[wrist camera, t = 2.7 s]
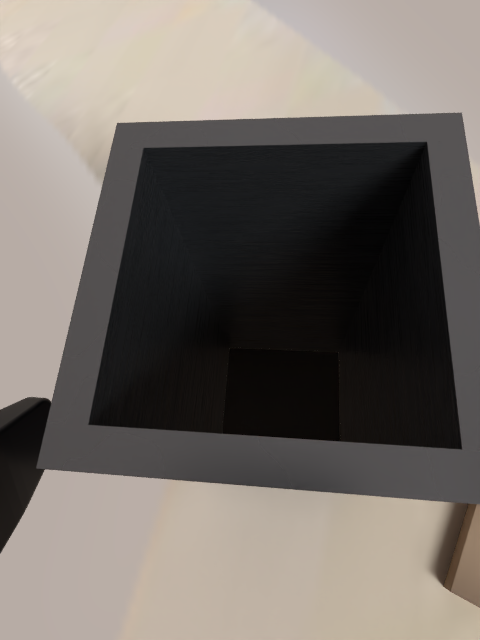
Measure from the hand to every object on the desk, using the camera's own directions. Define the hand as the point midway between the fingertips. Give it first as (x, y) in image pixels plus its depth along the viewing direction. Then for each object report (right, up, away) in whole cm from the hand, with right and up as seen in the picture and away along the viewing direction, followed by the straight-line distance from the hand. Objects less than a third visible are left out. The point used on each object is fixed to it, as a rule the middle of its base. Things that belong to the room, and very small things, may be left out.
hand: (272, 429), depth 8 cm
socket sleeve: (+1, -1, +9) cm, 10 cm away
